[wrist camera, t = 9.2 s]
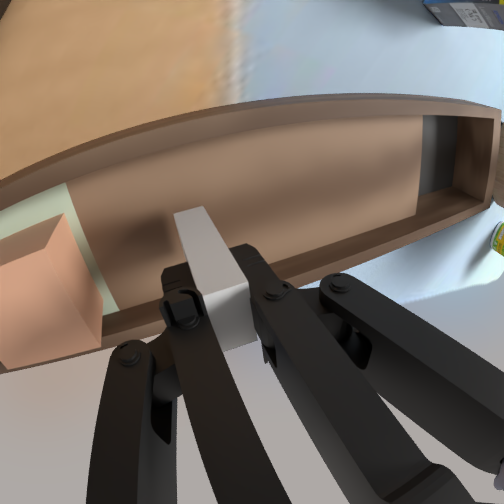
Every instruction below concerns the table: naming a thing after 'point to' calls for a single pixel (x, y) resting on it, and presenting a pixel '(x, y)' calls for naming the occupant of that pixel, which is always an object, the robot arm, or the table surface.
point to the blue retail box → (468, 13)
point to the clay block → (46, 296)
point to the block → (499, 173)
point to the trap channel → (260, 189)
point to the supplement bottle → (498, 239)
